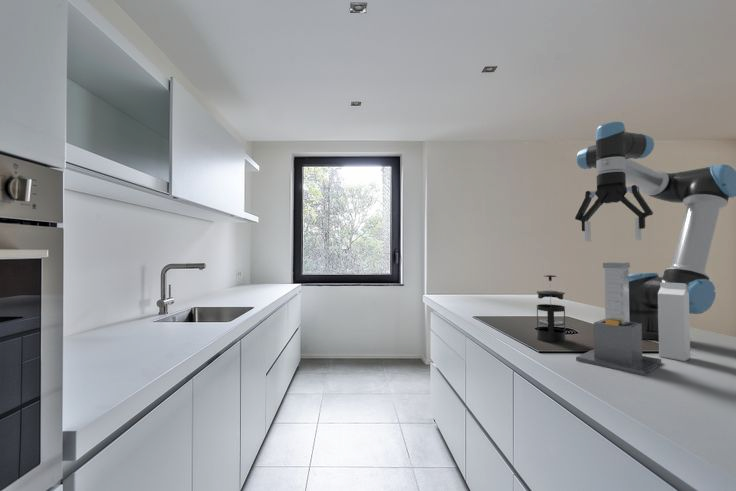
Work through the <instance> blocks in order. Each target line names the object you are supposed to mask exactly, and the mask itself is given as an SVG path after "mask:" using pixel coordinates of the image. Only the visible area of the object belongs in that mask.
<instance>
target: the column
mask: <svg viewBox="0 0 736 491" xmlns="http://www.w3.org/2000/svg"><path fill="white" fill-rule="evenodd" d="M602 268H604V300H605V301H604V305H605V306H604V307H605V308H604V309H605V310H604V311H605V314H604V315H605V318H604V319H606V320H607V319H609V320H616V321H620V325H622V326H630V323H629V268H631V264H630V262H617V261H615V262H613V261H612V262H611V261H610V262H602Z"/></svg>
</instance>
